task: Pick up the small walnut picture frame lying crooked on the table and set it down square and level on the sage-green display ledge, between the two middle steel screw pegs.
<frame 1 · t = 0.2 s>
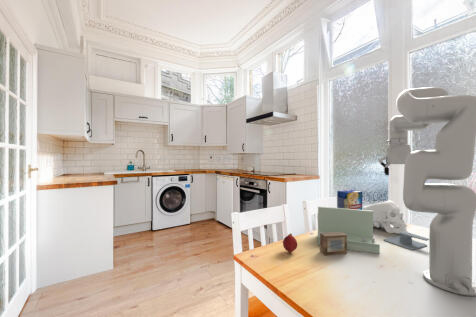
hand: (398, 175, 108), 31 cm above the table, tool pointing down, fingers open, 9 cm apart
ledge: (345, 243, 97), on the table
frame: (333, 252, 88), on the table
skull planter: (384, 229, 118), on the table
beverage box: (349, 232, 113), on the table
onion: (290, 252, 88), on the table
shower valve: (407, 245, 97), on the table
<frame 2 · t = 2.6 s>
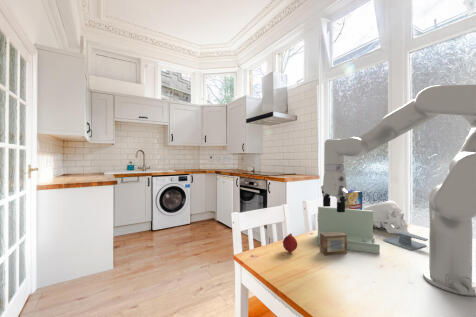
hand: (333, 209, 88), 18 cm above the table, tool pointing down, fingers open, 9 cm apart
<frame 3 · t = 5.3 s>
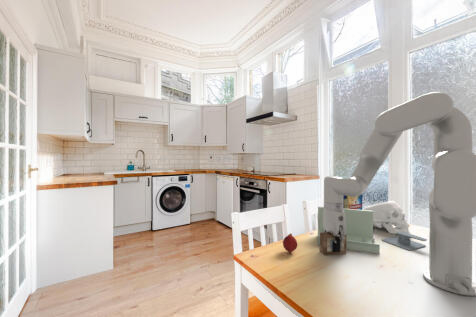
hand: (333, 248, 88), 2 cm above the table, tool pointing down, fingers closed on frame, 3 cm apart
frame: (332, 252, 88), on the table, touching gripper
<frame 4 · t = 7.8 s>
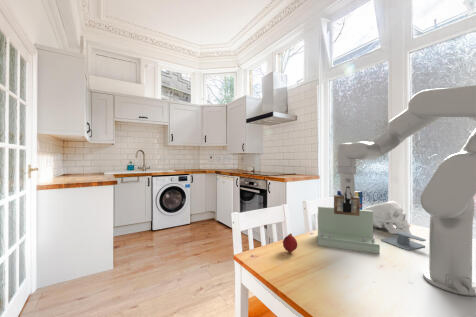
hand: (346, 210, 95), 16 cm above the table, tool pointing down, fingers closed on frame, 3 cm apart
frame: (346, 213, 95), point 15 cm above the table, touching gripper
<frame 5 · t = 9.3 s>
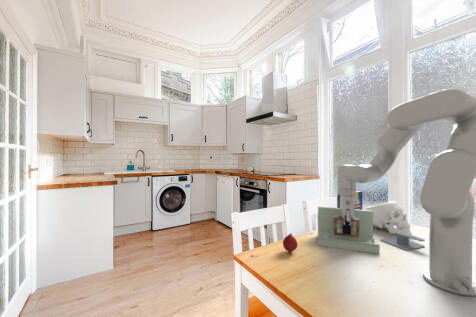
hand: (346, 231, 95), 6 cm above the table, tool pointing down, fingers closed on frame, 3 cm apart
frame: (345, 235, 95), point 5 cm above the table, touching gripper
when the fingers open (5 cm above the table, at t = 10.4 s): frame stays where it is, resting on ledge.
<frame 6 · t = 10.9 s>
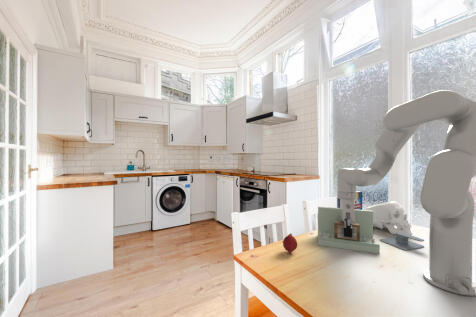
hand: (346, 233, 95), 6 cm above the table, tool pointing down, fingers open, 9 cm apart
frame: (346, 240, 95), point 2 cm above the table, touching ledge
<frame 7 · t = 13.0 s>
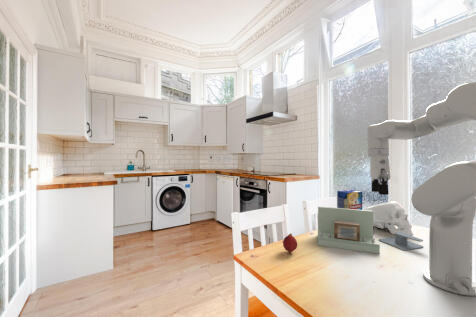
hand: (379, 193, 90), 25 cm above the table, tool pointing down, fingers open, 9 cm apart
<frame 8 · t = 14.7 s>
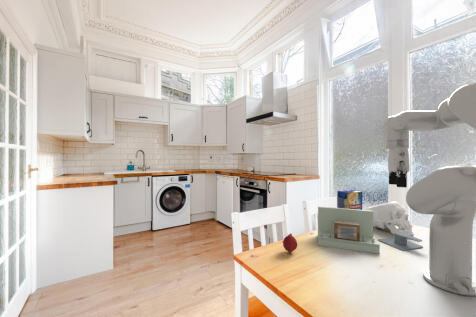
hand: (397, 185, 88), 28 cm above the table, tool pointing down, fingers open, 9 cm apart
at the end: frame inside the target area on the ledge (0.1 cm from its centre), point 2.5 cm above the ledge's base; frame tilted 0°; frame touching ledge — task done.
